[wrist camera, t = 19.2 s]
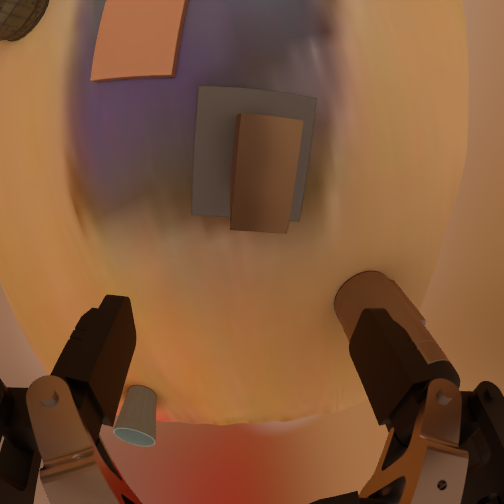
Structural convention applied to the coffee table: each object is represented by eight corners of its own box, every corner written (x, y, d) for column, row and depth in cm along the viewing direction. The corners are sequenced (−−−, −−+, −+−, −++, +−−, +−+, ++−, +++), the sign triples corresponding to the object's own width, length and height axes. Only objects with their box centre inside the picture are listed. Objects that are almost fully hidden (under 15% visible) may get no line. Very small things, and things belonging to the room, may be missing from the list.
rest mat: (314, 98, 26) (316, 98, 25) (297, 219, 32) (299, 221, 31) (199, 86, 24) (199, 85, 24) (192, 213, 31) (191, 215, 30)
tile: (176, 78, 24) (189, -1, 20) (171, 75, 22) (186, -9, 17) (99, 82, 23) (113, 7, 18) (90, 80, 21) (106, 0, 16)
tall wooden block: (276, 119, 26) (303, 120, 16) (267, 192, 30) (286, 233, 20) (236, 114, 26) (241, 112, 16) (229, 189, 29) (230, 230, 19)
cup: (125, 398, 47) (115, 440, 37) (122, 377, 43) (110, 424, 34) (161, 406, 48) (155, 449, 39) (161, 386, 45) (154, 434, 36)
